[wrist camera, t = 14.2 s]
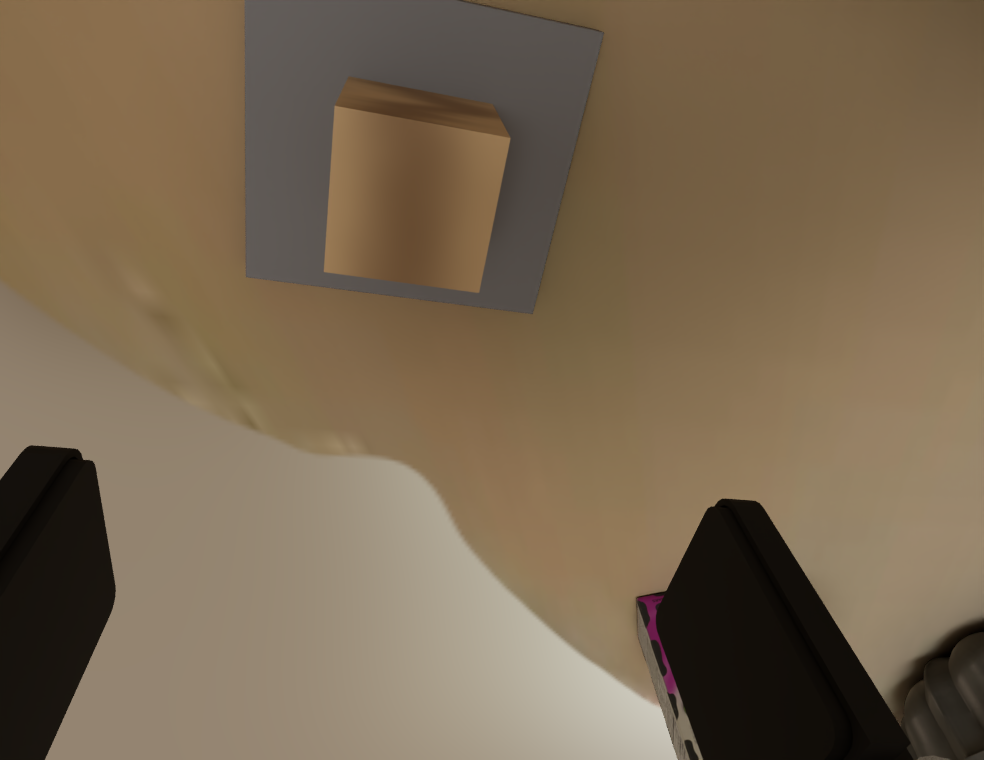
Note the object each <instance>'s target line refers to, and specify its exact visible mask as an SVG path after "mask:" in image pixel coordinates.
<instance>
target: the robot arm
mask: <svg viewBox="0 0 984 760" xmlns="http://www.w3.org/2000/svg"><path fill="white" fill-rule="evenodd" d="M115 592H116V590H115V581H114V575H113V569H112V563H111V557H110V551H109V545H108V539H107V533H106V527H105V521H104V515H103V509H102V503H101V497H100V491H99V486H98V479H97V473H96V468H95V464H94V463H93V461H90V460H83V458H82V455H81V453H80V451H79V450H78V449H71V448H59V447H58V448H57V447H46V446H29V447H27V448H26V449H24V451H23V452H22V453H21V454H20V455H19V456H18V458H17V459H16V460H15V462H14V463H13V464H12V465H11V467H10V468H9V469H8V471H7V472H6V473H5V474H4V476H3V477H2V478H1V480H0V760H45V758H46V756H47V754H48V751H49V749H50V747H51V745H52V742H53V740H54V738H55V736H56V734H57V731H58V729H59V727H60V725H61V723H62V720H63V718H64V716H65V714H66V711H67V709H68V707H69V705H70V703H71V700H72V698H73V696H74V694H75V691H76V689H77V687H78V685H79V682H80V680H81V678H82V676H83V674H84V672H85V669H86V667H87V665H88V663H89V660H90V658H91V656H92V654H93V651H94V649H95V647H96V645H97V643H98V640H99V638H100V636H101V634H102V632H103V629H104V627H105V625H106V623H107V621H108V618H109V616H110V614H111V611H112V608H113V605H114V600H115ZM656 629H657V632H658V635H659V638H660V641H661V644H662V647H663V649H664V652H665V655H666V658H667V661H668V663H669V666H670V669H671V672H672V675H673V677H674V680H675V683H676V686H677V688H678V691H679V694H680V697H681V700H682V702H683V705H684V708H685V711H686V714H687V716H688V719H689V722H690V725H691V728H692V730H693V733H694V736H695V739H696V742H697V744H698V747H699V750H700V753H701V755H702V758H703V760H914V759H913V758H912V756H911V754H910V753H909V751H908V750H907V747H908V746H909V745H910V744H911V743H910V741H909V739H908V738H907V736H906V735H905V733H904V731H903V730H902V728H901V727H900V725H899V723H898V722H897V720H896V719H895V717H894V715H893V714H892V712H891V711H890V709H889V707H888V706H887V704H886V703H885V701H884V699H883V698H882V696H881V695H880V693H879V691H878V690H877V688H876V687H875V685H874V683H873V682H872V680H871V679H870V677H869V675H868V674H867V672H866V671H865V669H864V667H863V666H862V664H861V663H860V661H859V660H858V658H857V656H856V655H855V653H854V652H853V650H852V648H851V647H850V645H849V644H848V642H847V640H846V639H845V637H844V636H843V634H842V632H841V631H840V629H839V628H838V626H837V624H836V623H835V621H834V620H833V618H832V616H831V615H830V613H829V612H828V610H827V608H826V607H825V605H824V604H823V602H822V600H821V599H820V597H819V596H818V594H817V592H816V591H815V589H814V588H813V586H812V584H811V583H810V581H809V580H808V578H807V577H806V575H805V573H804V572H803V570H802V569H801V567H800V565H799V564H798V562H797V561H796V559H795V557H794V556H793V554H792V553H791V551H790V549H789V548H788V546H787V545H786V543H785V541H784V540H783V538H782V537H781V535H780V533H779V532H778V530H777V529H776V527H775V525H774V524H773V522H772V521H771V519H770V517H769V516H768V514H767V513H766V511H765V509H764V508H763V507H762V506H761V504H760V503H758V502H756V501H749V500H736V499H721V500H719V501H718V502H717V504H716V505H715V506H714V507H710V508H708V509H707V511H706V512H705V514H704V516H703V518H702V520H701V522H700V524H699V526H698V528H697V530H696V532H695V534H694V536H693V538H692V540H691V542H690V544H689V546H688V548H687V550H686V552H685V554H684V556H683V558H682V560H681V563H680V565H679V567H678V569H677V571H676V573H675V575H674V577H673V579H672V581H671V583H670V585H669V587H668V589H667V591H666V593H665V595H664V597H663V599H662V601H661V603H660V605H659V607H658V609H657V612H656ZM917 760H950V759H946V758H942V757H938V756H934V755H933V756H924V757H919V758H918V759H917Z"/></svg>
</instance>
